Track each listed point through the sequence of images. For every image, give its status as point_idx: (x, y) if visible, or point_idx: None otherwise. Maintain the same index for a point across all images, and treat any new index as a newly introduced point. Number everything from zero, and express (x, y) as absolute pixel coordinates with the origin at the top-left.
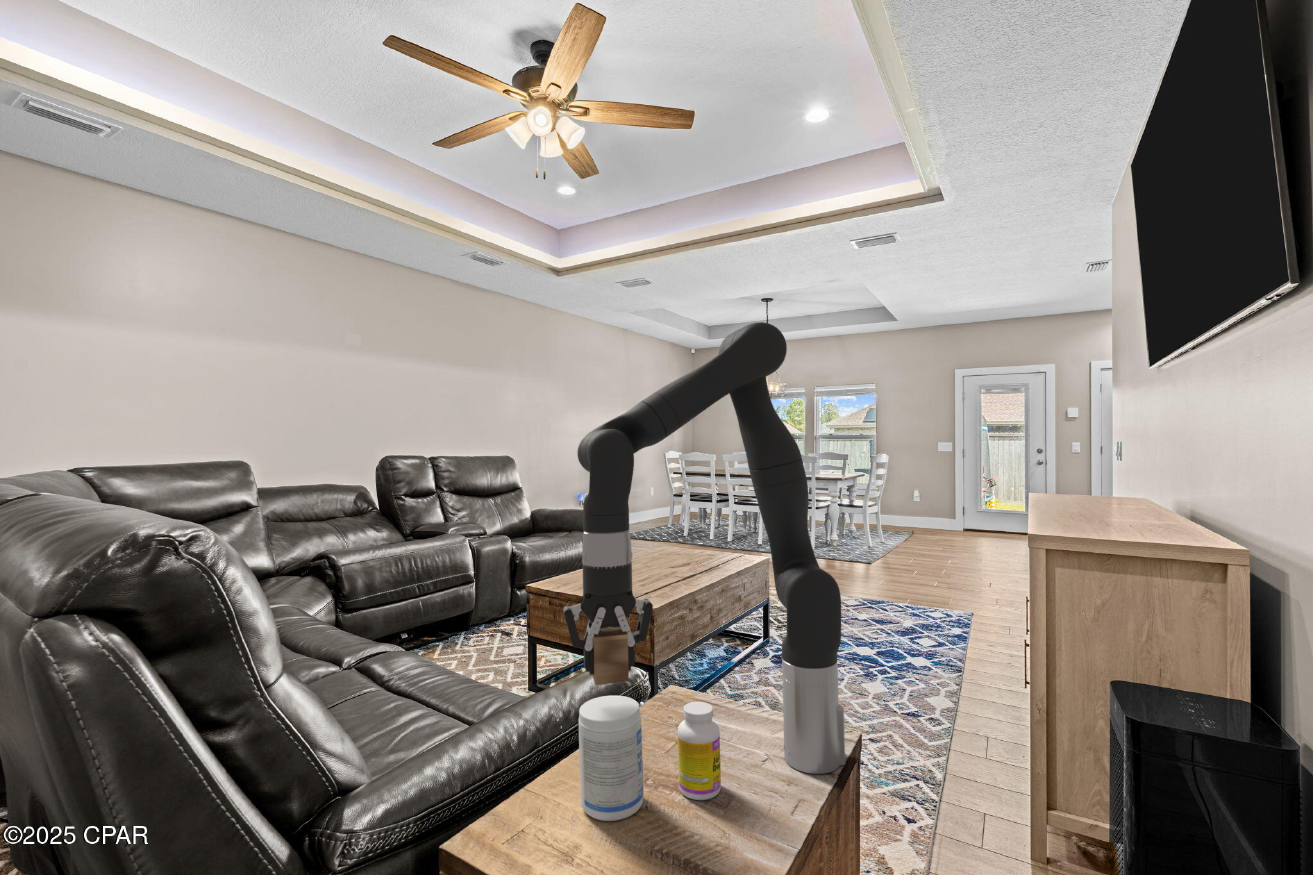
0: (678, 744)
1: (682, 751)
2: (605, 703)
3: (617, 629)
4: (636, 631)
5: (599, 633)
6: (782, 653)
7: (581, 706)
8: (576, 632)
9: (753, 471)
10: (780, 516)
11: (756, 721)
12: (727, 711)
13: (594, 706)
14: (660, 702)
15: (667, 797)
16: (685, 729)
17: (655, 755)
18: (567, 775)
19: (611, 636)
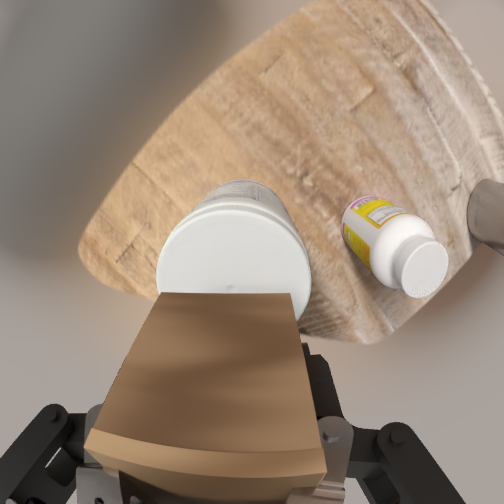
0: (364, 243)
1: (363, 257)
2: (223, 264)
3: (265, 499)
4: (374, 464)
5: (163, 498)
6: None
7: (159, 263)
8: (72, 486)
9: None
10: None
11: (475, 98)
12: (452, 54)
13: (192, 274)
14: None
15: (320, 227)
16: (383, 270)
17: (334, 113)
18: (184, 132)
19: None
